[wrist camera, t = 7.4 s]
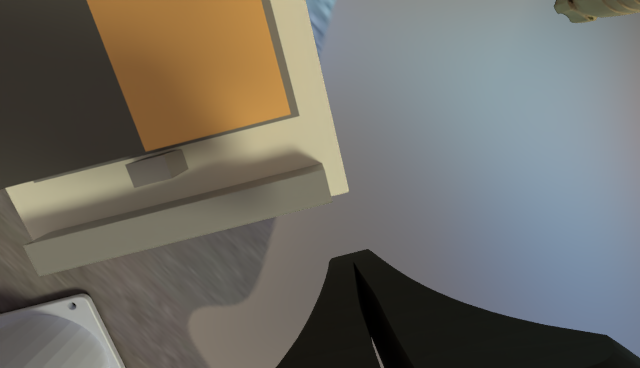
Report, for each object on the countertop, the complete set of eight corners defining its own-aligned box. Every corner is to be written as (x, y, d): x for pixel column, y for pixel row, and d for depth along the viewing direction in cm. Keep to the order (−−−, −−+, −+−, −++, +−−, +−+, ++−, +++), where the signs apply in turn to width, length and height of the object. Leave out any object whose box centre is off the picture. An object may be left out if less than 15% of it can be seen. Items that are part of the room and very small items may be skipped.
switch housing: (85, 243, 19) (2, 297, 14) (-57, -55, 15) (-252, -143, 10) (341, 178, 19) (357, 206, 14) (268, -137, 15) (251, -270, 10)
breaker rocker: (-16, 192, 12) (-40, 199, 11) (-126, -10, 10) (-169, -27, 9) (285, 115, 15) (290, 114, 14) (240, -52, 13) (243, -69, 12)
